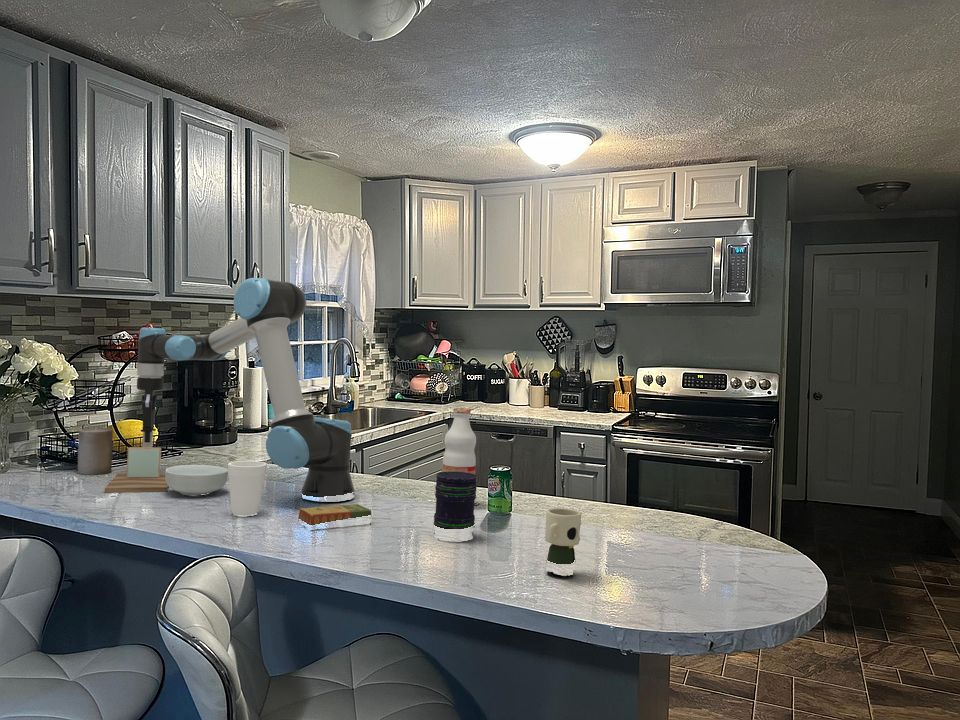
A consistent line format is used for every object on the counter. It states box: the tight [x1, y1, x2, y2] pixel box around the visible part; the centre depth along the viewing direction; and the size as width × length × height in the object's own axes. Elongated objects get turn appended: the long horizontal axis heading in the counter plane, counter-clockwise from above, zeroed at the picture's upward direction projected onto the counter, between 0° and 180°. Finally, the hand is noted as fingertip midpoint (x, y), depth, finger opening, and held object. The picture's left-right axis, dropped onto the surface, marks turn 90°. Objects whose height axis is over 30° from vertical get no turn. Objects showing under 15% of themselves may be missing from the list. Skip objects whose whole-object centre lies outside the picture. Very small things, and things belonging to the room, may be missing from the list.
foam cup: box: [227, 460, 268, 515], centre depth 183 cm, size 10×9×13 cm
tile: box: [126, 446, 162, 478], centre depth 217 cm, size 2×9×9 cm, turn 109°
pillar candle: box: [77, 425, 114, 476], centre depth 227 cm, size 10×10×15 cm
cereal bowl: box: [164, 464, 229, 496], centre depth 204 cm, size 17×17×7 cm
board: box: [104, 472, 170, 494], centre depth 213 cm, size 24×16×1 cm, turn 19°
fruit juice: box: [442, 407, 477, 475], centre depth 205 cm, size 9×9×28 cm
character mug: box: [544, 507, 582, 564], centre depth 146 cm, size 11×7×13 cm, turn 148°
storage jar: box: [433, 471, 477, 529], centre depth 171 cm, size 10×10×15 cm
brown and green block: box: [298, 503, 372, 525], centre depth 178 cm, size 8×16×4 cm, turn 125°
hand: (147, 452), depth 224 cm, fingers closed
